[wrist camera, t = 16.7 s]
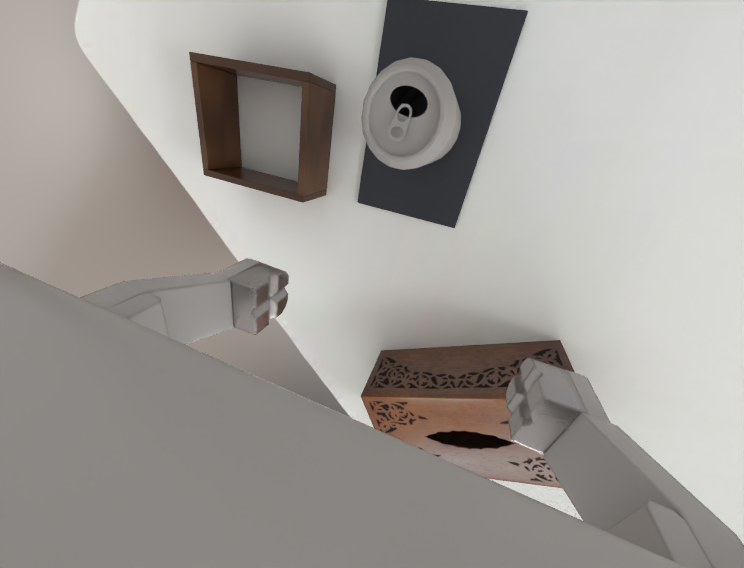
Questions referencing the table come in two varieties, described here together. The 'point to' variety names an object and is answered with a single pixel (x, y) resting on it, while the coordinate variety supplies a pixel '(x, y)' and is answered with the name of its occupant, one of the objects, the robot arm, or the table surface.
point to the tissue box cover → (460, 405)
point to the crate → (223, 135)
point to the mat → (472, 90)
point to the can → (410, 114)
